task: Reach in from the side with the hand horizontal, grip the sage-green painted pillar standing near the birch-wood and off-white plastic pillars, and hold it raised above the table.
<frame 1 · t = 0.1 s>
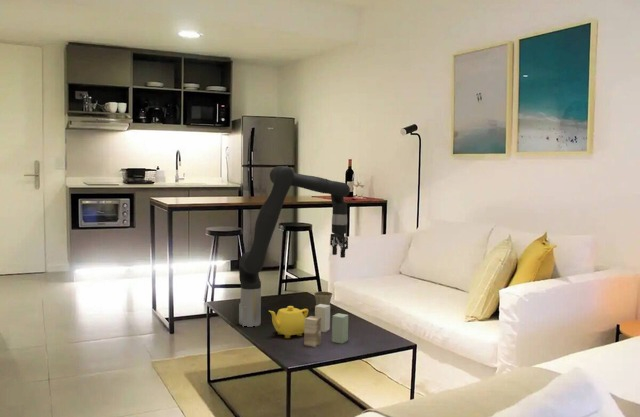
hand: (338, 256, 274), 29 cm above the table, tool pointing down, fingers open, 8 cm apart
offwhite pillar: (322, 329, 251), on the table
birch pillar: (312, 344, 231), on the table
sage pillar: (339, 340, 236), on the table
teapot: (288, 335, 243), on the table
flower pot: (322, 310, 285), on the table
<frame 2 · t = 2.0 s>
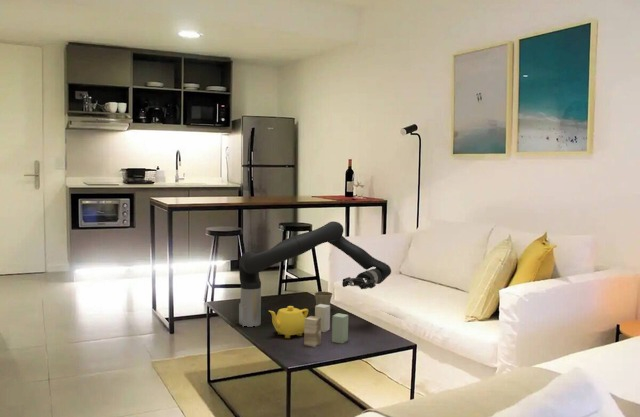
hand: (352, 285, 244), 22 cm above the table, tool horizontal, fingers open, 8 cm apart
nothing on the table moved.
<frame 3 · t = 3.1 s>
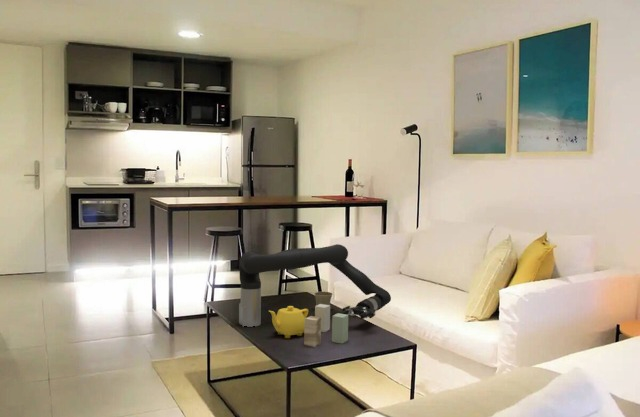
hand: (352, 315, 245), 8 cm above the table, tool horizontal, fingers open, 8 cm apart
nothing on the table moved.
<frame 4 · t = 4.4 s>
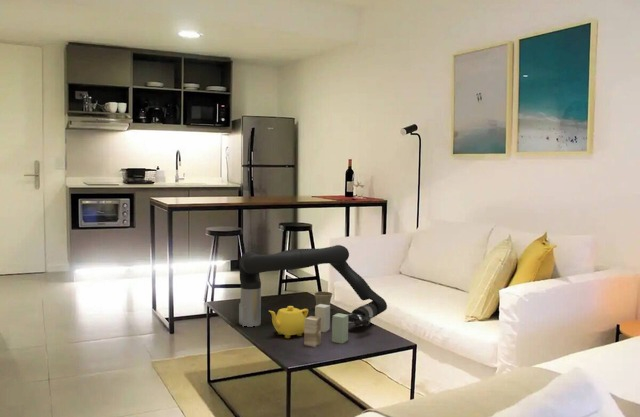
hand: (347, 323, 241), 6 cm above the table, tool horizontal, fingers open, 8 cm apart
nothing on the table moved.
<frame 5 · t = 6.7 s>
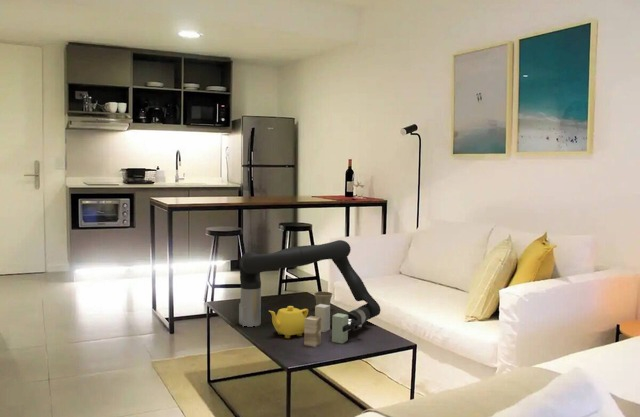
hand: (337, 328, 233), 6 cm above the table, tool horizontal, fingers closed on sage pillar, 5 cm apart
sage pillar: (339, 340, 236), on the table, touching gripper
everything else where it was.
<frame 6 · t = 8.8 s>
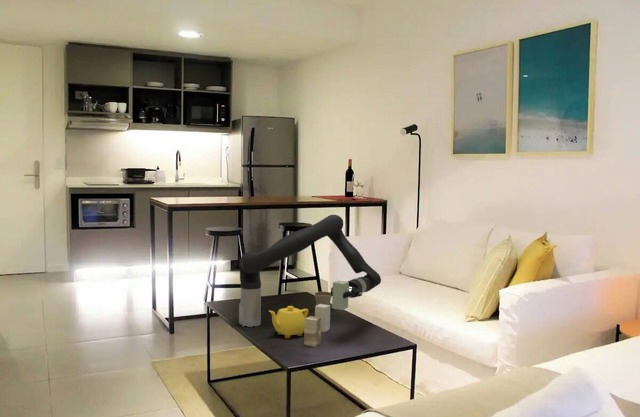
hand: (337, 294, 232), 20 cm above the table, tool horizontal, fingers closed on sage pillar, 5 cm apart
sage pillar: (340, 307, 235), point 14 cm above the table, touching gripper
everything else where it was.
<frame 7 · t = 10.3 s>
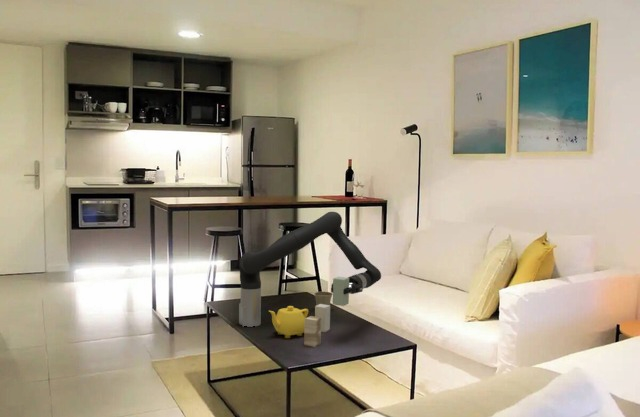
hand: (338, 291, 232), 22 cm above the table, tool horizontal, fingers closed on sage pillar, 5 cm apart
sage pillar: (340, 304, 235), point 16 cm above the table, touching gripper
everything else where it was.
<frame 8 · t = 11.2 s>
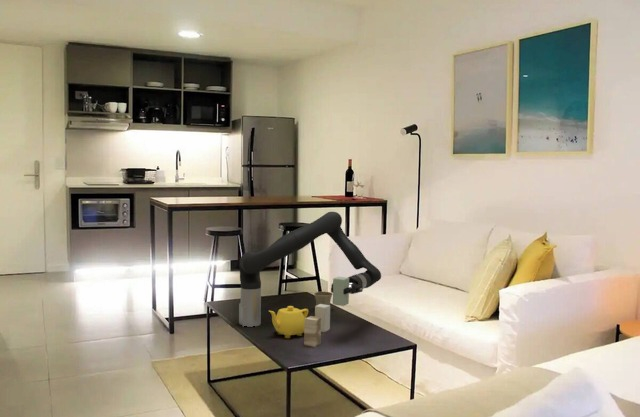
hand: (338, 291, 232), 22 cm above the table, tool horizontal, fingers closed on sage pillar, 5 cm apart
sage pillar: (340, 304, 235), point 16 cm above the table, touching gripper
everything else where it was.
at the end: the gripper is holding sage pillar; sage pillar point 15.8 cm above the table; birch pillar moved 0.0 cm from its start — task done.
